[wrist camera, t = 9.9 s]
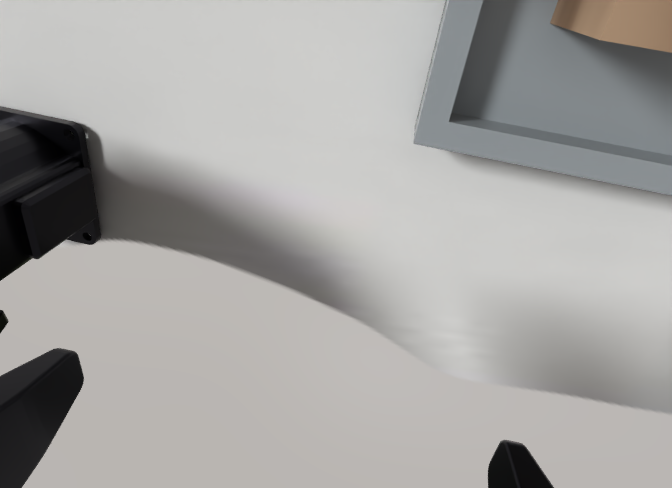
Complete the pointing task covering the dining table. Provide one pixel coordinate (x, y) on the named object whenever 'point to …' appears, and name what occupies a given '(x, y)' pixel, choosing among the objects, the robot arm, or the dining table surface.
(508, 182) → the dining table surface
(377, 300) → the dining table surface
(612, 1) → the walnut block
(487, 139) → the grey tray
